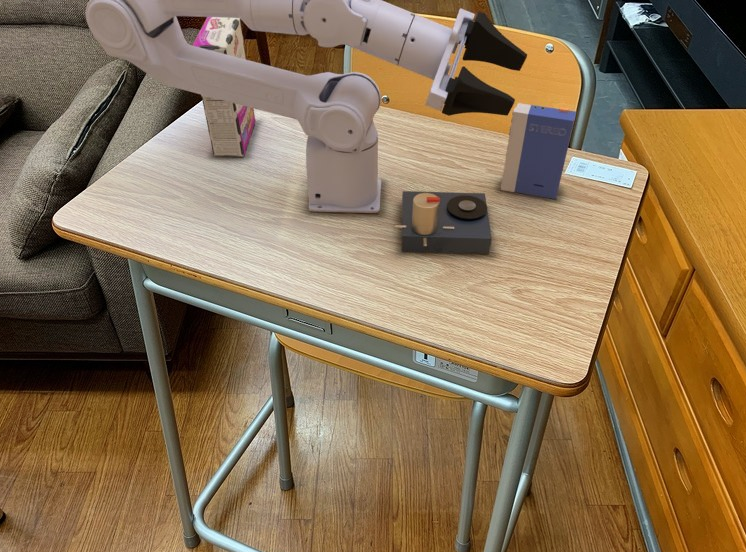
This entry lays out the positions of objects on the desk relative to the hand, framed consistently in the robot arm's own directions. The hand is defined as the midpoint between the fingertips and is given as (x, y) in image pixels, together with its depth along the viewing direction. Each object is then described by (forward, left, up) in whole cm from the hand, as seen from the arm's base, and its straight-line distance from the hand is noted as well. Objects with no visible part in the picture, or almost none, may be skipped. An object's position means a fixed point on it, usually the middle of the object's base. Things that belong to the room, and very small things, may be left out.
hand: (517, 84), depth 76 cm
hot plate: (-8, -4, -18) cm, 20 cm away
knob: (-10, -7, -15) cm, 20 cm away
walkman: (+5, +7, -18) cm, 20 cm away
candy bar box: (-39, +19, -18) cm, 47 cm away
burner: (-4, -2, -16) cm, 16 cm away
